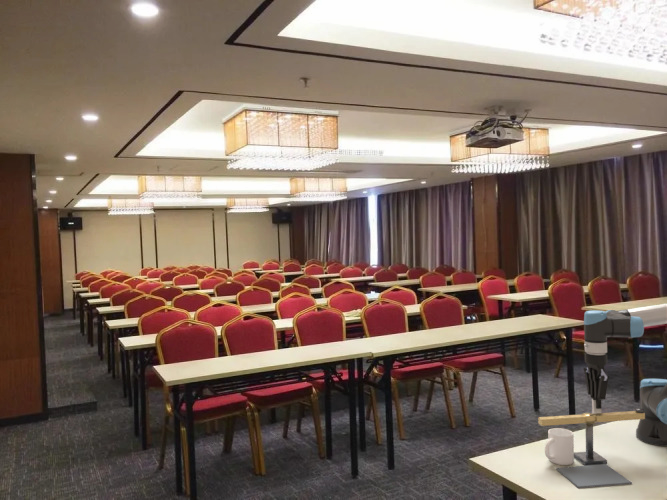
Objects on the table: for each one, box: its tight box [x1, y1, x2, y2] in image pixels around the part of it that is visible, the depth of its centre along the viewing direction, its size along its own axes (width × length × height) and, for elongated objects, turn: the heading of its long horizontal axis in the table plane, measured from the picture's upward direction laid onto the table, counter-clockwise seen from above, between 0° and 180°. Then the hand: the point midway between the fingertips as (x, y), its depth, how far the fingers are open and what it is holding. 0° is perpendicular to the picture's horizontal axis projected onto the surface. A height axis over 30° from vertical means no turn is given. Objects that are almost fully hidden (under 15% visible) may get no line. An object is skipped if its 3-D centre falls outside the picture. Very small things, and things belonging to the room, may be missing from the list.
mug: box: [544, 427, 575, 466], centre depth 194 cm, size 12×8×10 cm
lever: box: [537, 407, 645, 427], centre depth 194 cm, size 38×4×3 cm, turn 95°
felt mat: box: [555, 463, 633, 489], centre depth 182 cm, size 18×14×1 cm
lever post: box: [574, 423, 608, 466], centre depth 194 cm, size 8×8×14 cm
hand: (596, 416), depth 204 cm, fingers closed
